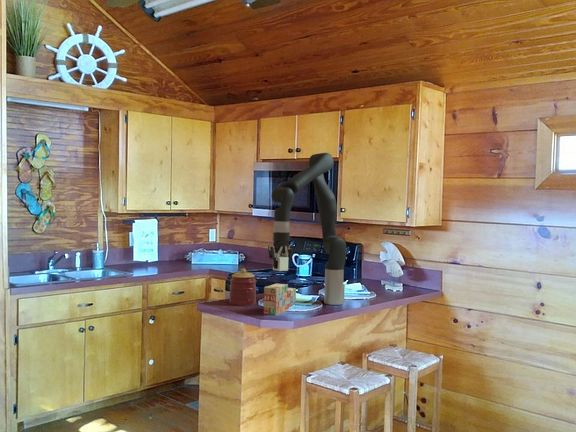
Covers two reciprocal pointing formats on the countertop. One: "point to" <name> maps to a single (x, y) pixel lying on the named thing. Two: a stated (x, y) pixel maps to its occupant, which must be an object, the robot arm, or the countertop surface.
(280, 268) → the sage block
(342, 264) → the robot arm
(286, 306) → the stack of blocks
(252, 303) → the canister
